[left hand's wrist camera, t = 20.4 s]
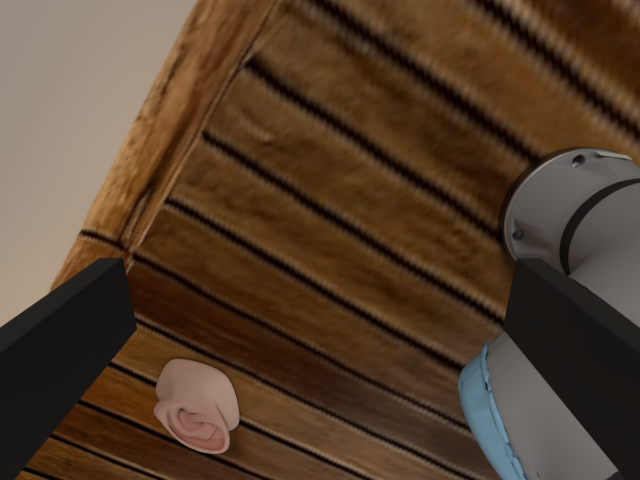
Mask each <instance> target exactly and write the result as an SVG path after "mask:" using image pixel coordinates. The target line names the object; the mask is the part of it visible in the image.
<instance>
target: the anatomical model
mask: <svg viewBox="0 0 640 480" xmlns="http://www.w3.org/2000/svg"><path fill="white" fill-rule="evenodd" d="M156 394H157V397H158V398H159V400H160V401H159V402H158V403H157V404H156V405H155V407H154V414H155V416H156V417H157V418H158V419H159V421H160V422H161V423H162V424H163V425H164V426H165V428H166V429H167V430H168V431H169V432H170V433H171V434H172V435H173V436H174V437H175V438H176V439H177V440H178V441H180V442H181V443H182V444H184V445H186V446H188V447H190V448H192V449H195V450H197V451H200V452H204V453H211V454H217V453H222V452H225V451H226V450H227V449H228V447H229V443H230V436H229V431H231V430H233V429H234V428H235V427H237V425H238V423H239V407H238V402H237V398H236V394H235V391H234V389H233V386H232V384H231V382H230V380H229V379H228V377H227V376H226V375H225V374H224V373H222V372H221V371H219V370H218V369H216V368H213V367H211V366H209V365H206V364H203V363H199V362H196V361H191V360H186V359H173V360H171V361H169V362H168V363H167V364H166V366H165V367H164V369H163V371H162V373H161V375H160V377H159V379H158V382H157V386H156Z"/></svg>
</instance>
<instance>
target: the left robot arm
mask: <svg viewBox="0 0 640 480" xmlns="http://www.w3.org/2000/svg"><path fill="white" fill-rule="evenodd" d="M629 159H631V158H630V157H628V156H627V155H622V154H618V153H616V152H613V151H610V150H605V149H599V148H593V147H571V148H566V149H562V150H559V151H556V152H553V153H551V154H549V155H547V156H545V157H543V158H541V159H539V160H538V161H536V162H535V163H534V164H532V165H531V166H530V167H528V168H527V169H526V170H525V171H524V172H523V173H522V174H521V175H520V176H519V177H518V178H517V180H516V181H515V182H514V183H513V185H512V186H511V188H510V189H509V191H508V193H507V195H506V197H505V199H504V202H503V204H502V208H501V211H500V217H499V233H500V238H501V241H502V244H503V246H504V248H505V250H506V252H507V253H508V255H509V256H510V257H511V258H512V259H513V260H514V261H515V262H516V267H515V271H514V276H513V281H512V286H511V291H510V296H509V301H508V306H507V311H506V316H505V321H504V326H503V330H504V331H503V332H502V333H501V334H500V335H499V336H498V337H496V338H495V339H494V340H493V341H489V342H487V343H486V344H485V345H484V346H483V349H482V351H481V352H480V353H479V354H478V355H477V356H475V357H474V358H473V359H472V360H471V361H470V362H469V363H468V364H467V365H466V366H465V367H464V368H463V370H462V372H461V373H460V376H459V380H458V391H459V398H460V403H461V406H462V410H463V413H464V415H465V418H466V420H467V422H468V425H469V427H470V429H471V431H472V433H473V435H474V437H475V439H476V441H477V442H478V444H479V446H480V448H481V449H482V451H483V453H484V454H485V456H486V457H487V459H488V461H489V462H490V464H491V465H492V466H493V468H494V469H495V471H496V472H497V473H498V475H499V476H500V477H501V479H502V480H640V168H639V167H638V166H637V165H635V164H634V163H633V162H631V161H630V160H629ZM136 330H137V326H136V321H135V316H134V311H133V306H132V301H131V296H130V291H129V286H128V281H127V276H126V271H125V267H124V262H123V258H99V259H98V260H96V261H95V262H93V263H92V264H91V265H89V266H88V267H86V268H85V269H83V270H82V271H81V272H79V273H78V274H76V275H75V276H73V277H72V278H70V279H69V280H68V281H66V282H65V283H63V284H62V285H60V286H59V287H58V288H56V289H55V290H53V291H52V292H50V293H49V294H48V295H46V296H45V297H43V298H42V299H40V300H39V301H38V302H36V303H35V304H33V305H32V306H30V307H29V308H28V309H26V310H25V311H23V312H22V313H20V314H19V315H18V316H16V317H15V318H13V319H12V320H10V321H9V322H8V323H6V324H5V325H3V326H2V327H0V480H14V479H15V478H16V477H17V476H18V474H19V473H20V472H21V471H22V470H23V468H24V467H25V466H26V465H27V463H28V462H29V461H30V460H31V458H32V457H33V456H34V455H35V454H36V452H37V451H38V450H39V449H40V447H41V446H42V445H43V444H44V443H45V441H46V440H47V439H48V438H49V436H50V435H51V434H52V433H53V431H54V430H55V429H56V428H57V427H58V425H59V424H60V423H61V422H62V420H63V419H64V418H65V417H66V415H67V414H68V413H69V412H70V411H71V409H72V408H73V407H74V406H75V404H76V403H77V402H78V401H79V400H80V398H81V397H82V396H83V395H84V393H85V392H86V391H87V390H88V388H89V387H90V386H91V385H92V384H93V382H94V381H95V380H96V379H97V377H98V376H99V375H100V374H101V373H102V371H103V370H104V369H105V368H106V366H107V365H108V364H109V363H110V361H111V360H112V359H113V358H114V357H115V355H116V354H117V353H118V352H119V350H120V349H121V348H122V347H123V346H124V344H125V343H126V342H127V341H128V339H129V338H130V337H131V336H132V334H133V333H134V332H135V331H136Z"/></svg>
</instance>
